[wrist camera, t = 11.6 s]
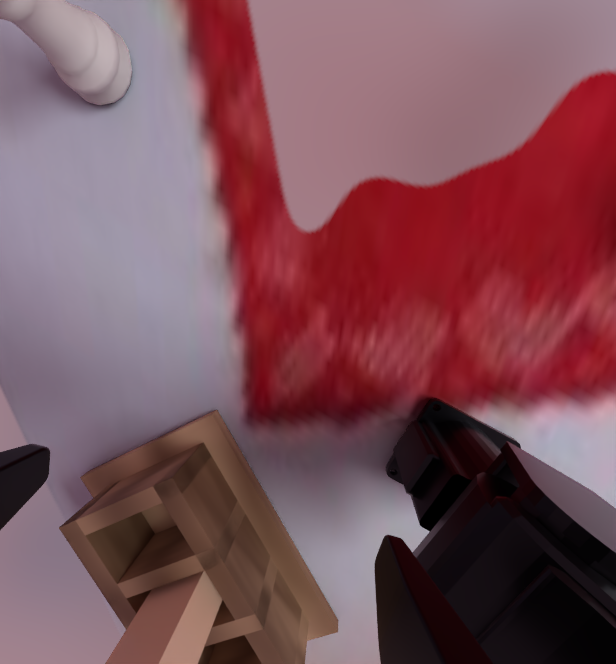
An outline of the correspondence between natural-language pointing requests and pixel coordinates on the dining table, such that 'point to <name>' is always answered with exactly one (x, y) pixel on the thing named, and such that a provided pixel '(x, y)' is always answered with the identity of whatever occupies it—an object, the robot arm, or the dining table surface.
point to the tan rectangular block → (171, 624)
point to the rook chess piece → (75, 46)
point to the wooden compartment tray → (200, 543)
